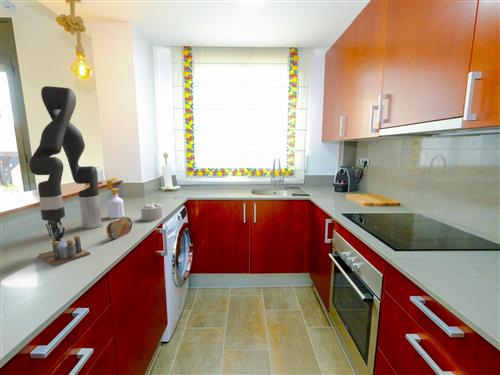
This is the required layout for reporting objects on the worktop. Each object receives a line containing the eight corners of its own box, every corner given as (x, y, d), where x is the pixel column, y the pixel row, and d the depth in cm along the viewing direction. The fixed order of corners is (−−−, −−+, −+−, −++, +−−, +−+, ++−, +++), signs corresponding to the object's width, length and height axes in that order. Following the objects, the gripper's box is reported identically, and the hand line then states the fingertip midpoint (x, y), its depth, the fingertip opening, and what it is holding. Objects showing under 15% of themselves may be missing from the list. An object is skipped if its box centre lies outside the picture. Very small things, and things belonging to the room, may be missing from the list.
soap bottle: (127, 216, 160) (124, 177, 156) (113, 219, 152) (109, 179, 148) (119, 214, 165) (116, 177, 161) (105, 217, 157) (101, 178, 153)
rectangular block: (64, 258, 96) (63, 247, 96) (55, 253, 101) (54, 242, 101) (76, 254, 100) (75, 243, 99) (67, 249, 105) (65, 239, 104)
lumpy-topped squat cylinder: (139, 220, 151) (138, 206, 149) (152, 214, 163) (151, 201, 162) (155, 220, 149) (154, 206, 147) (166, 215, 161) (165, 202, 160)
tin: (112, 241, 116) (110, 223, 115) (106, 240, 117) (104, 223, 116) (133, 230, 131) (131, 215, 129) (127, 230, 131) (126, 215, 130)
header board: (38, 256, 101) (36, 238, 99) (72, 246, 110) (70, 229, 109) (54, 265, 92) (51, 246, 91) (90, 254, 102) (87, 236, 100)
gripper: (34, 206, 102) (40, 247, 104) (47, 211, 94) (53, 254, 97) (56, 203, 108) (62, 241, 111) (70, 207, 100) (75, 248, 103)
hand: (58, 247), depth 104 cm, fingers closed
